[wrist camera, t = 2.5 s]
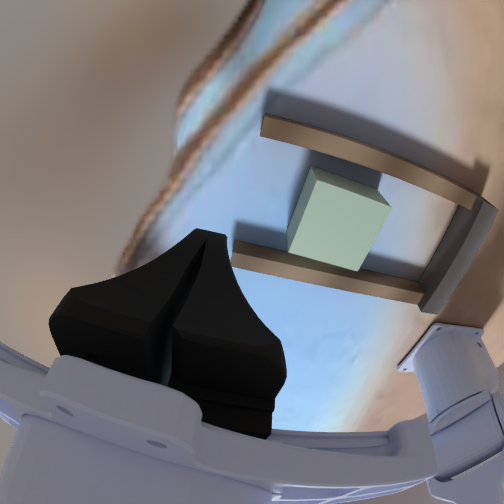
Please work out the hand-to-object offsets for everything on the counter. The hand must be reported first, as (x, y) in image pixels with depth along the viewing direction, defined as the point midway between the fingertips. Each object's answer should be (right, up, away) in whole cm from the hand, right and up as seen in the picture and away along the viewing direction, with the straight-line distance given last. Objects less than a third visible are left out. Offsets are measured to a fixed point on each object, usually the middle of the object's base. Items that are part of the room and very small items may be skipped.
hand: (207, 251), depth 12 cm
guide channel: (+10, +2, +7) cm, 13 cm away
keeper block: (+7, +3, +7) cm, 11 cm away
